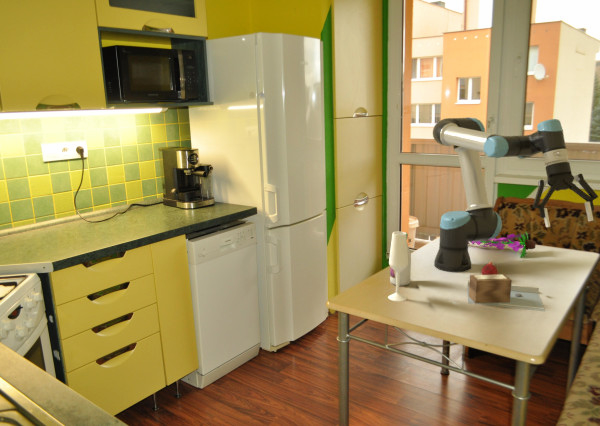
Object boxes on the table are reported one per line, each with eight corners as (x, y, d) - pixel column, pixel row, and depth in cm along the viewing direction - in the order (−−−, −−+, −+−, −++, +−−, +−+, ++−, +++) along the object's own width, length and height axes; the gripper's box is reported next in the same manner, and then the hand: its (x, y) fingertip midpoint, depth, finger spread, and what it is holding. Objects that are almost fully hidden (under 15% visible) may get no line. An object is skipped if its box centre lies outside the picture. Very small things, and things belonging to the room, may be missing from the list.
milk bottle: (412, 280, 195) (413, 231, 191) (407, 287, 188) (409, 236, 184) (392, 278, 198) (394, 229, 194) (387, 284, 192) (389, 234, 187)
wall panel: (467, 306, 170) (468, 297, 169) (467, 288, 187) (468, 280, 186) (544, 314, 163) (545, 305, 162) (537, 294, 179) (538, 286, 179)
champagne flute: (400, 293, 182) (403, 230, 177) (410, 299, 176) (412, 234, 171) (384, 295, 180) (386, 231, 175) (393, 302, 174) (395, 236, 169)
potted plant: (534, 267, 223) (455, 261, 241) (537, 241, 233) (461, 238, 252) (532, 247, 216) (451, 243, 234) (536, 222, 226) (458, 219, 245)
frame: (475, 303, 170) (476, 280, 168) (468, 296, 175) (470, 274, 174) (509, 302, 170) (511, 279, 168) (502, 295, 176) (504, 273, 174)
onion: (489, 285, 190) (490, 265, 188) (477, 280, 195) (479, 261, 193) (500, 282, 192) (501, 262, 191) (488, 278, 197) (489, 258, 196)
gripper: (521, 167, 171) (533, 228, 168) (600, 155, 166) (613, 217, 163) (516, 171, 178) (528, 230, 175) (591, 159, 173) (604, 219, 170)
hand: (569, 224), depth 169 cm, fingers open, 13 cm apart
